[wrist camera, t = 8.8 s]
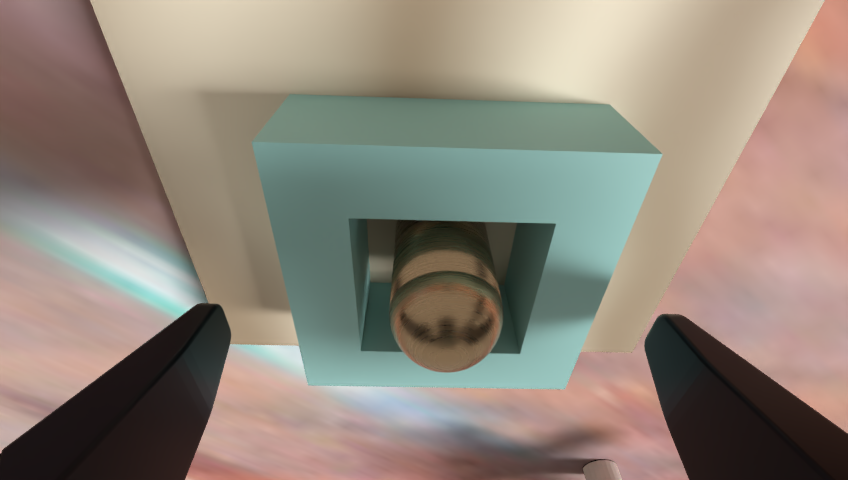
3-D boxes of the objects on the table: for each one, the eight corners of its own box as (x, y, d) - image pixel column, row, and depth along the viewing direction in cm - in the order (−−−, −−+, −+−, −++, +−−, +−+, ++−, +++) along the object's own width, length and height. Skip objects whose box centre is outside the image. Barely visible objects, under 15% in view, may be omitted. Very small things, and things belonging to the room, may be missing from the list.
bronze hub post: (490, 193, 10) (523, 318, 7) (479, 265, 12) (502, 397, 9) (396, 190, 10) (383, 315, 7) (396, 262, 12) (386, 395, 8)
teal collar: (609, 104, 9) (662, 154, 7) (543, 320, 13) (564, 389, 11) (289, 94, 9) (251, 142, 7) (325, 316, 13) (308, 385, 11)
